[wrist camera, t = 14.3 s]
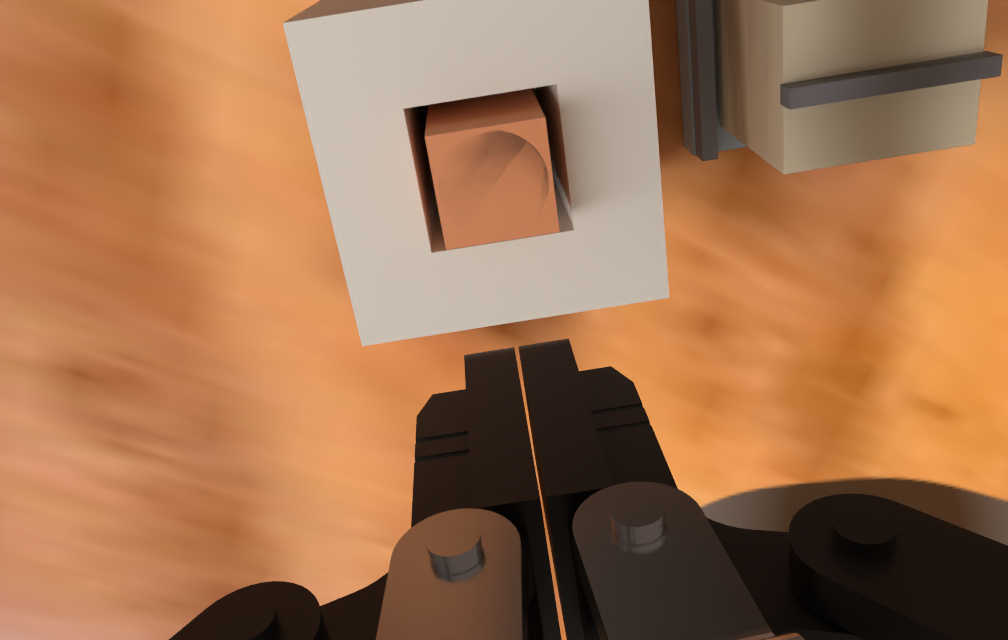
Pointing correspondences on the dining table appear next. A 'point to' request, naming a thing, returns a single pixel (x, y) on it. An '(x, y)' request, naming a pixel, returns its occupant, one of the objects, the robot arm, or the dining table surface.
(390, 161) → the light grey hollow box
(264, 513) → the dining table surface
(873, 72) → the carriage
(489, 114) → the orange dimpled block
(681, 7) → the rail
